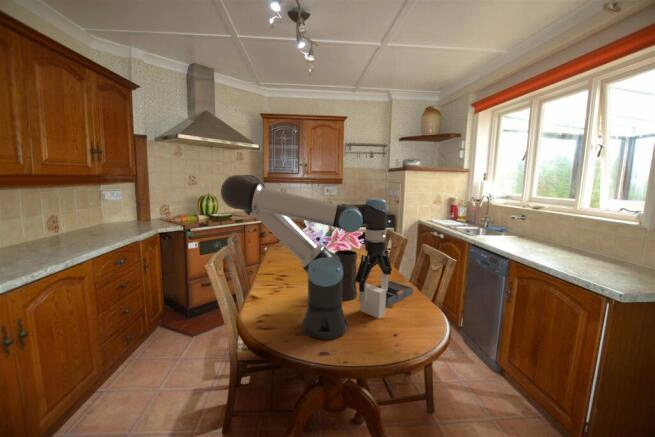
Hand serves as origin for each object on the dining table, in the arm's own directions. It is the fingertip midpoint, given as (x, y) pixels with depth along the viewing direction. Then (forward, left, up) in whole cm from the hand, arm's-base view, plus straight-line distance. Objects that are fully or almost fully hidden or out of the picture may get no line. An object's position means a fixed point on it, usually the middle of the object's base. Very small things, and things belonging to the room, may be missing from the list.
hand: (374, 294), depth 116 cm
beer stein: (+7, +20, -8) cm, 23 cm away
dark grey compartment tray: (+18, +5, -7) cm, 20 cm away
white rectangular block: (0, 0, -7) cm, 7 cm away
